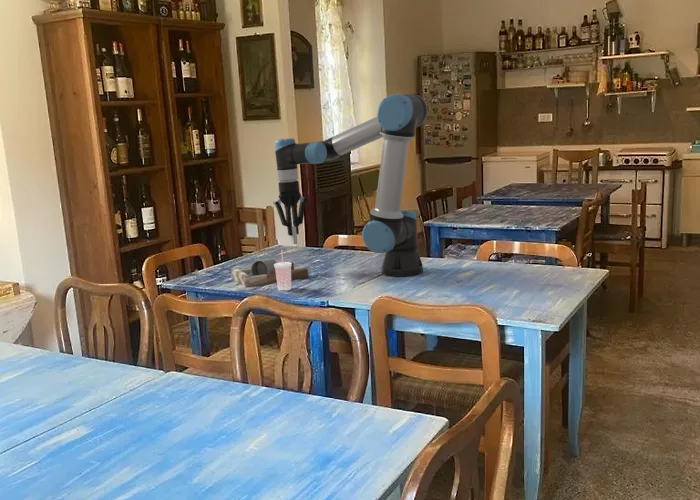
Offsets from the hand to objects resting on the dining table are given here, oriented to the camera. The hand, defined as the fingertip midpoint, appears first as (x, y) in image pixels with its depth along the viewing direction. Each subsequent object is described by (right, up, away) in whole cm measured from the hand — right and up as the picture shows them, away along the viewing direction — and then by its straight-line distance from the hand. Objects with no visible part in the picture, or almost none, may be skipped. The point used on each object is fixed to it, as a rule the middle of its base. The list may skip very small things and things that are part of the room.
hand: (294, 243), depth 268 cm
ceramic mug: (-12, -13, -3) cm, 18 cm away
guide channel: (-9, -13, -2) cm, 16 cm away
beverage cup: (-2, -16, -20) cm, 26 cm away
